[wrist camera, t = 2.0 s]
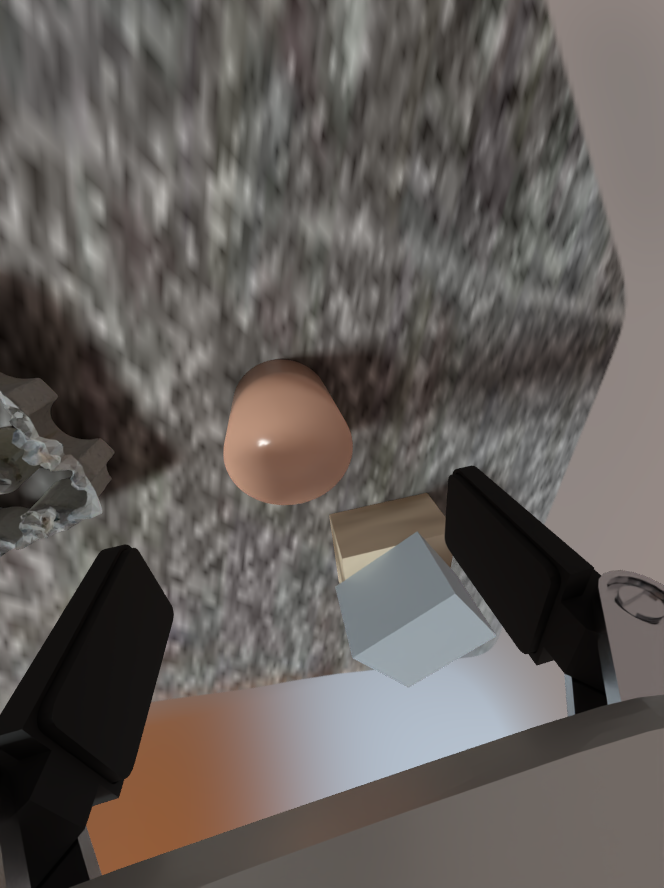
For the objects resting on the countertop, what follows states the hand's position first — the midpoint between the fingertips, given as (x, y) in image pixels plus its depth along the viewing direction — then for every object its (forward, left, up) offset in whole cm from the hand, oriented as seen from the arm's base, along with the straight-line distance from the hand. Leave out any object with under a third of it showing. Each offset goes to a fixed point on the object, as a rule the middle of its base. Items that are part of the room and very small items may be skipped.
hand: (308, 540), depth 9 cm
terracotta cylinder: (-1, 0, -9) cm, 9 cm away
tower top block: (+11, +5, -5) cm, 13 cm away
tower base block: (+11, +5, -9) cm, 15 cm away
